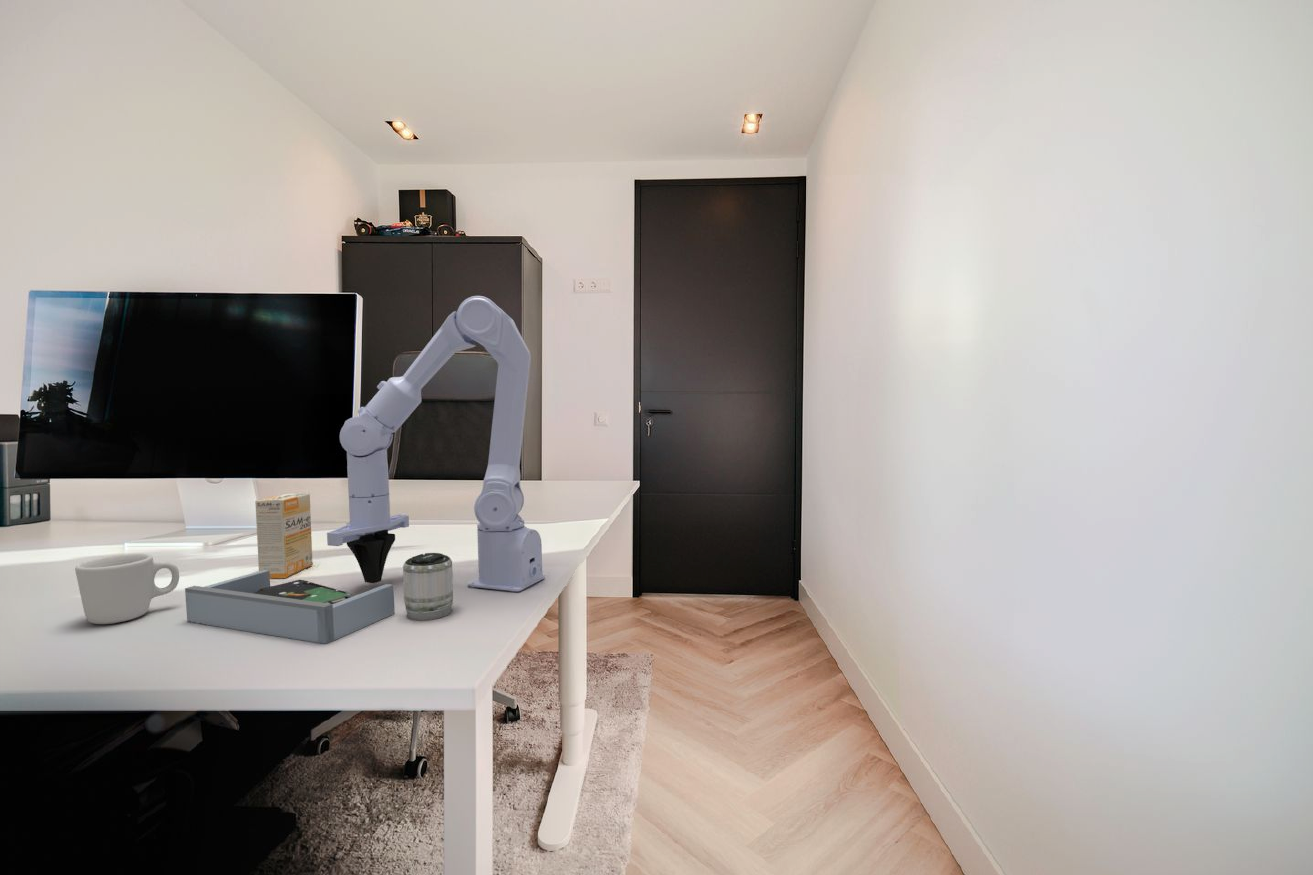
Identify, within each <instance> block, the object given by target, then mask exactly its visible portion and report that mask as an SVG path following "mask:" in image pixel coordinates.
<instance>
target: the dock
mask: <svg viewBox="0 0 1313 875" xmlns="http://www.w3.org/2000/svg"><path fill="white" fill-rule="evenodd" d="M270 586H271V578H270V571H268V570H262V571H259V570H258V571H255V572H252V573H248V574H244V575H241V576H238V577H234V578H230V579H225V580H224V581H220V582H217V583H213V584H209V585H205V586H201V585H200V586H198V585H193V586H188V587H186V588H184V591H185V592H184V594H185V608H186V609H185V610H186V622H187V621H191V622H190V623H193V622H196V623H195V624H199V623H202V624H201V625H205V624H206V626H207V625H208V626H214V627H218V628H225V629H231V630H237V631H243V632H250V633H256V634H262V635H268V636H275V637H280V638H286V639H287V638H288V639H293V640H297V641H299V640H300V641H304V642H305V641H306V642H311V643H317V644H322V645H328V644H329V643H332V642H334V641H336V640H338V639H340V638H344V637H346V636H348V635H349V634H352V633H354V632H357V631H359V630H361V629H363V628H366V627H368V626H369V625H373V624H374V623H377V622H379V621H381V620H384V619H387V618H388V617H390V616H392V615H395V612H396V610H395V608H396V607H395V588H394V584H391V583H385V584H383V585H379V586H377V587H374V588H372V589H370V590H367V591H364V592H362V593H359V594H355V595H354V596H352V597H351V598H348V599H345V600H343V601H340V602H337V603H335V604H329V603H321V602H313V601H306V600H298V599H291V598H283V597H276V596H268V595H261V594H253V593H255V592H257V591H259V590H260V589H262V588H266V587H270ZM197 622H198V623H197Z"/></svg>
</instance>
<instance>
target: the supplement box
mask: <svg viewBox="0 0 1313 875" xmlns="http://www.w3.org/2000/svg"><path fill="white" fill-rule="evenodd" d="M310 494H311V493H308V492H307V493H305V492H304V493H303V492H300V493H299V492H297V493H296V492H295V493H294V492H293V493H284V494H280V495H275V496H271V497H267V498H263V499H256V500H255V503H254V504H255V519H256V520H255V521H256V539H257V559H258V571H262V570H268V571H270V579H286V578H288V577H290V576H292V575H295V574H297V573H298V572H301V571H302V570H305V569H307V568H309V567H312V566H313V549H312V548H313V542H312V541H313V540H312V538H313V537H312V521H311V519H312V518H311V517H312V515H311V495H310Z"/></svg>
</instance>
